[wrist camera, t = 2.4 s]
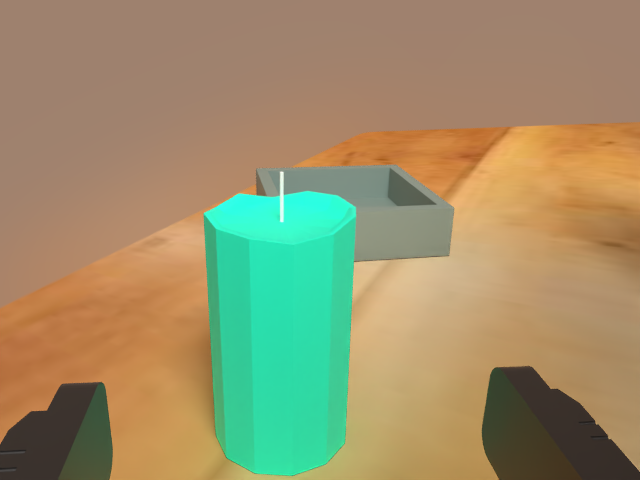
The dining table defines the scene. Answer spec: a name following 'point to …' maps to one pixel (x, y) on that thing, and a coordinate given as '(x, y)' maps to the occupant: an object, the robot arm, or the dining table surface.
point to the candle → (280, 327)
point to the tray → (375, 207)
